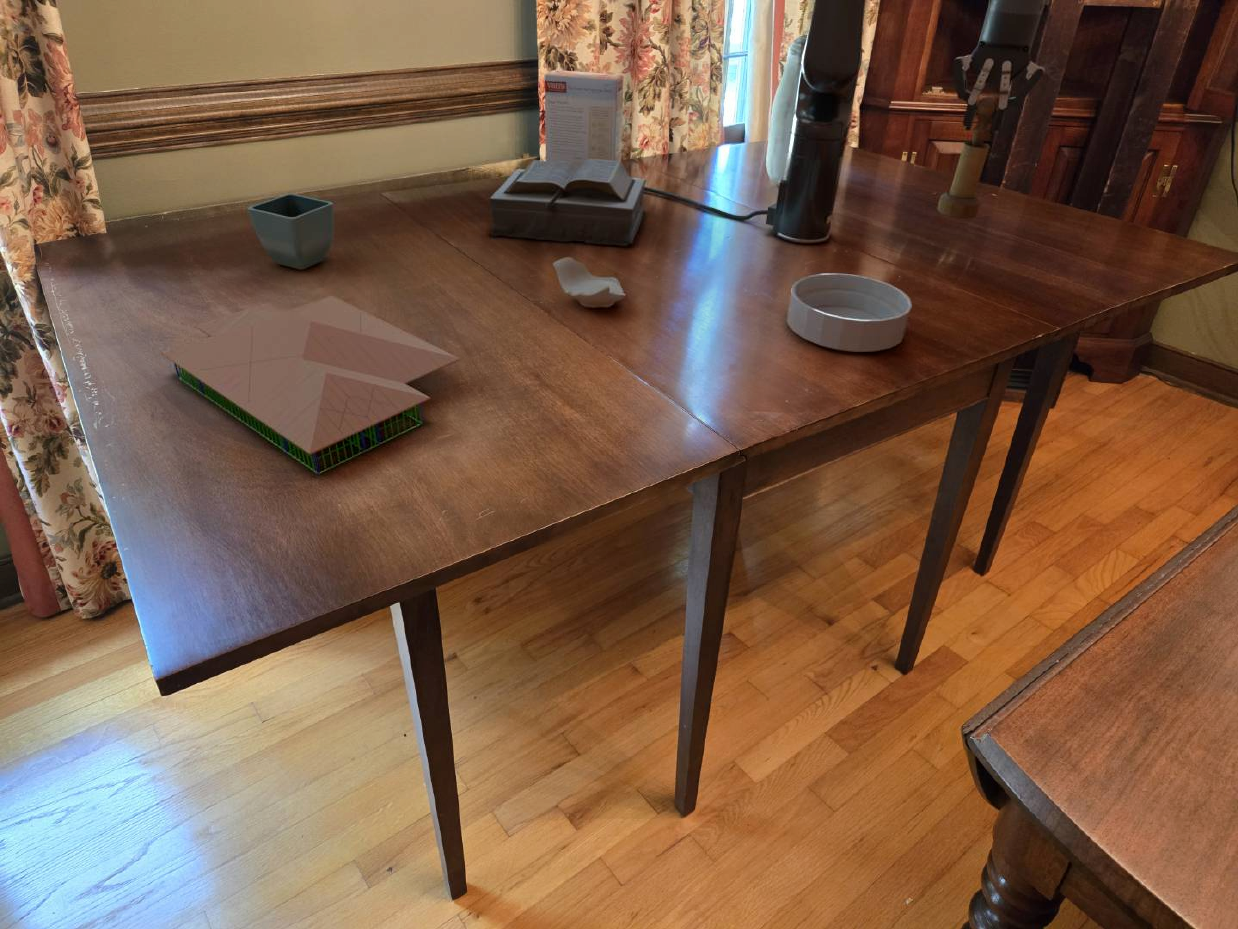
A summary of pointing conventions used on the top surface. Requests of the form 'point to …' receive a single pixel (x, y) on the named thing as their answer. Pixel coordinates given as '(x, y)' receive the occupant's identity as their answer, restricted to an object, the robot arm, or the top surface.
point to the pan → (848, 312)
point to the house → (310, 372)
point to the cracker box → (583, 116)
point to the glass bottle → (784, 112)
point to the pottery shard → (587, 284)
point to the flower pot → (294, 229)
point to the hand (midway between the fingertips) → (980, 130)
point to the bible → (570, 203)
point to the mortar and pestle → (969, 168)
